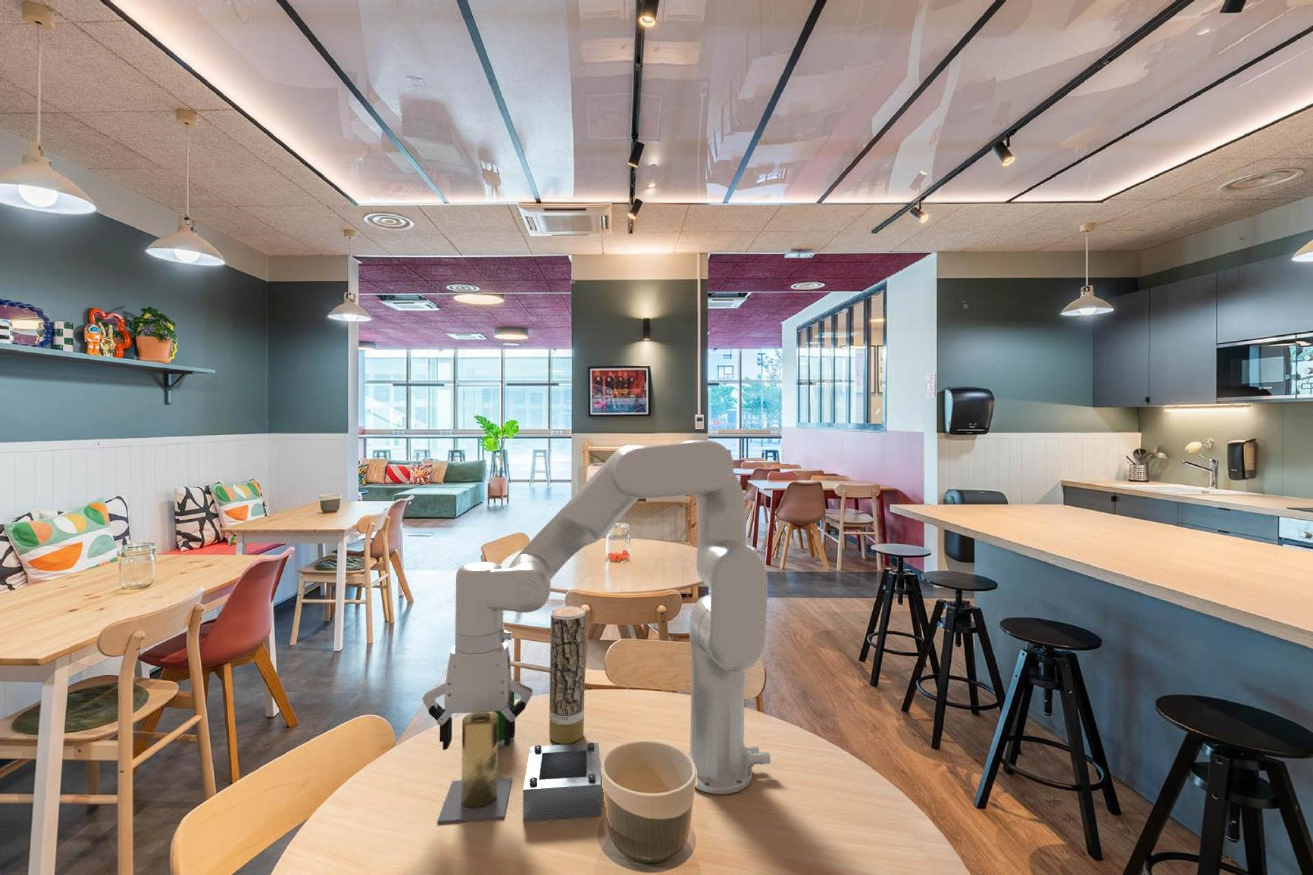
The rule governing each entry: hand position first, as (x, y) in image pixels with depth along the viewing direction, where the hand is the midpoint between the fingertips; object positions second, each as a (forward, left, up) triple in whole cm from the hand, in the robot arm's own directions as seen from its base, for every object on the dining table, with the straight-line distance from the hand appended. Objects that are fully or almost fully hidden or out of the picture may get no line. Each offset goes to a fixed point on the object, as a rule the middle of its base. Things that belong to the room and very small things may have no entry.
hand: (477, 743), depth 92 cm
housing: (-14, 0, -9) cm, 17 cm away
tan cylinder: (0, 0, -9) cm, 9 cm away
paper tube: (-14, -18, -10) cm, 25 cm away
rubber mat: (0, 0, -9) cm, 9 cm away
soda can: (0, -18, -10) cm, 20 cm away
